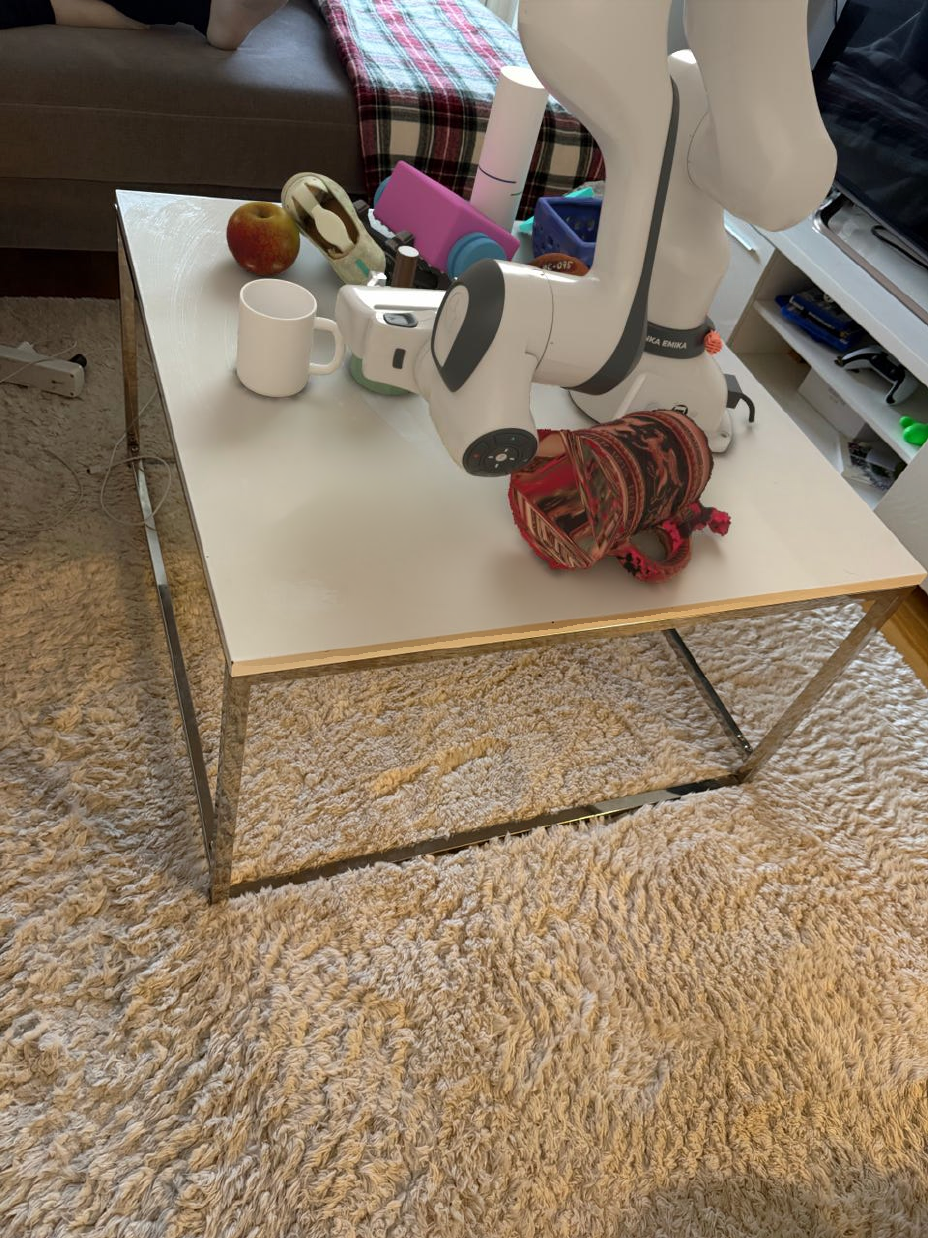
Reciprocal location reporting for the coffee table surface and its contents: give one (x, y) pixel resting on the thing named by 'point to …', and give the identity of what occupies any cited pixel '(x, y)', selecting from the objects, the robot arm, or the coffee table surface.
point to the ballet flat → (332, 226)
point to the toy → (439, 222)
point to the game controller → (395, 249)
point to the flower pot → (566, 227)
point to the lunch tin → (373, 385)
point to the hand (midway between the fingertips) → (416, 279)
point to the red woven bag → (617, 493)
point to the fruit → (263, 238)
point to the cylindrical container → (509, 144)
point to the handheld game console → (581, 193)
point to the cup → (280, 338)
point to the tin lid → (405, 267)
